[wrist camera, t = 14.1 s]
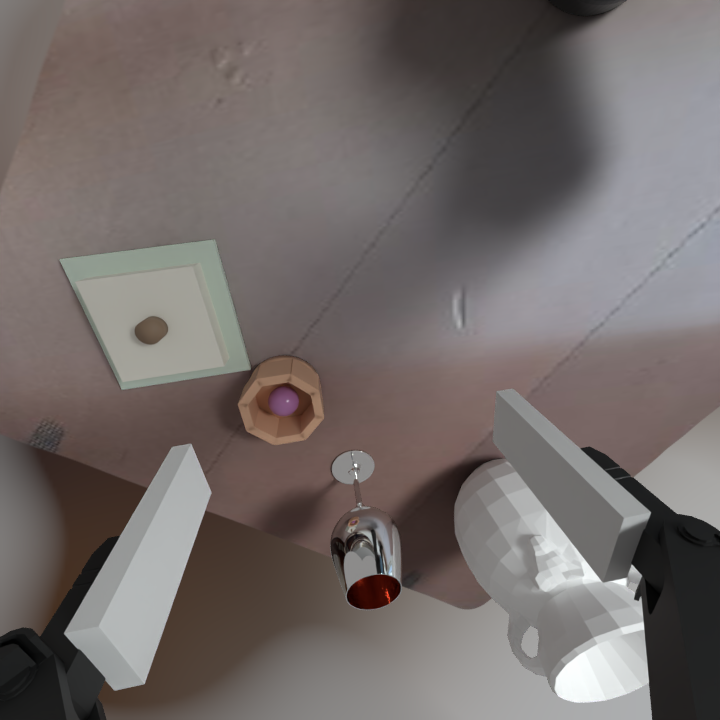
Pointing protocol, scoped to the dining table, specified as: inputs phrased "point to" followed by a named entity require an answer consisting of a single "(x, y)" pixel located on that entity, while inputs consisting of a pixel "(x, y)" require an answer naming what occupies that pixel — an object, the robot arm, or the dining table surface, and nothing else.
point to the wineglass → (365, 542)
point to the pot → (282, 400)
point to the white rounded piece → (550, 590)
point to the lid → (156, 321)
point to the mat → (161, 258)
